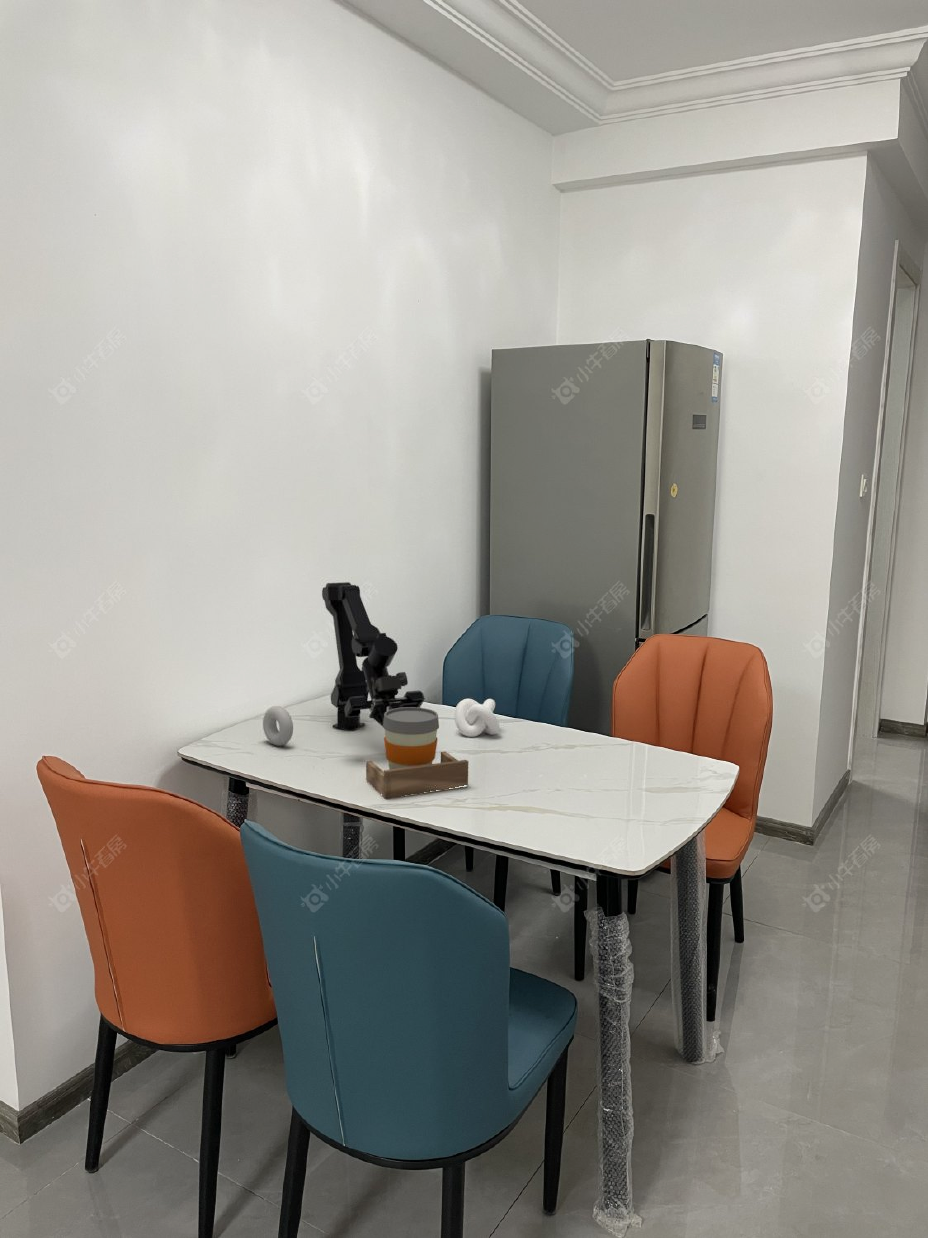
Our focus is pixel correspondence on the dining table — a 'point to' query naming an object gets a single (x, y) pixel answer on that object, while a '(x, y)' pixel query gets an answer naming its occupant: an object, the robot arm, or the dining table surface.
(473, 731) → the white knot
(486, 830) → the dining table surface
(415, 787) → the holder
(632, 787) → the dining table surface
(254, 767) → the dining table surface
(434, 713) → the reusable coffee cup
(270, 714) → the donut
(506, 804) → the dining table surface
